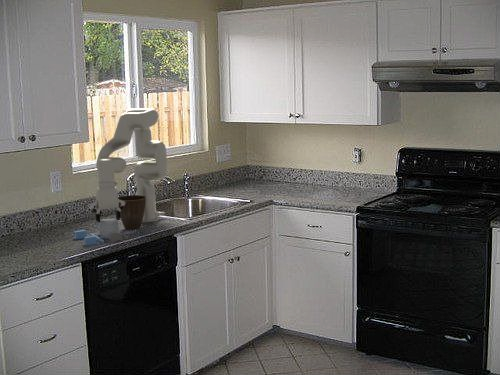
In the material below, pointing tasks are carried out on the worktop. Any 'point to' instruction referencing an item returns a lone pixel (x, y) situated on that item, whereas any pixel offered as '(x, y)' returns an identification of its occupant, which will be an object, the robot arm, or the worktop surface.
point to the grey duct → (116, 236)
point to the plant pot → (132, 211)
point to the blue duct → (87, 240)
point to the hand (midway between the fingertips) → (108, 220)
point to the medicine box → (108, 227)
